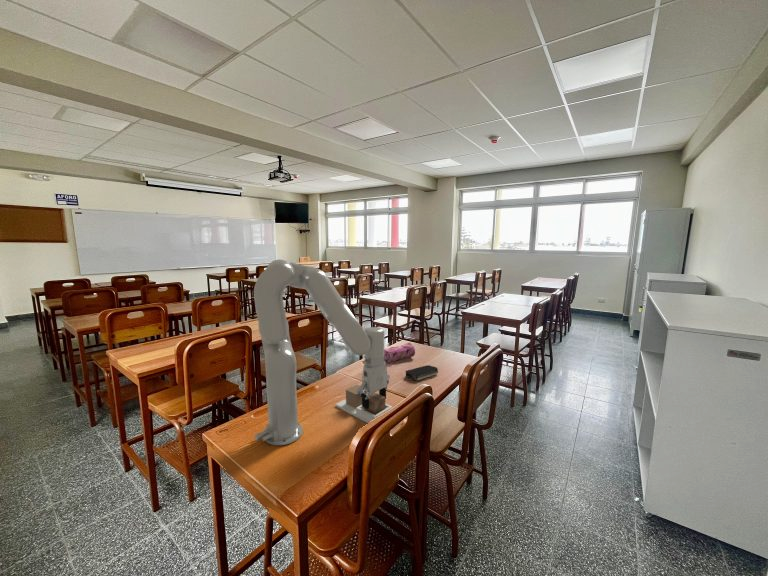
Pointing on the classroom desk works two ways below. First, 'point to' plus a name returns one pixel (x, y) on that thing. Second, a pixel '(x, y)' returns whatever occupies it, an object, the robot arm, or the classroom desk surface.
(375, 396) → the walnut block
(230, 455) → the classroom desk surface
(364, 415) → the assembly board
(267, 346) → the robot arm
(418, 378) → the black sponge
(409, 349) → the pencil case
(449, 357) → the classroom desk surface
